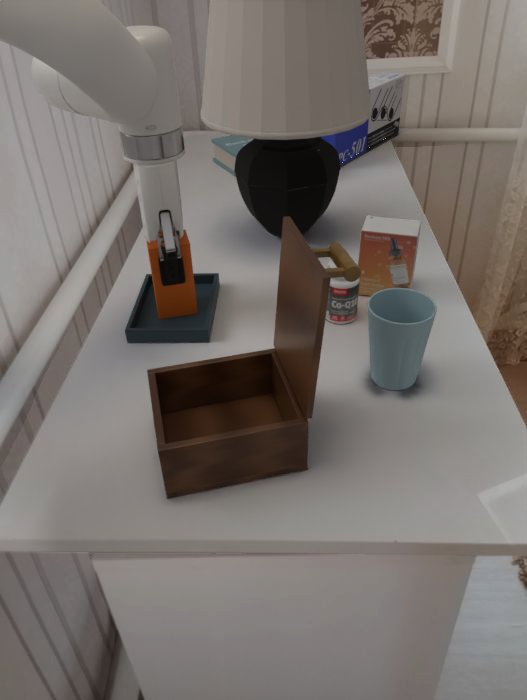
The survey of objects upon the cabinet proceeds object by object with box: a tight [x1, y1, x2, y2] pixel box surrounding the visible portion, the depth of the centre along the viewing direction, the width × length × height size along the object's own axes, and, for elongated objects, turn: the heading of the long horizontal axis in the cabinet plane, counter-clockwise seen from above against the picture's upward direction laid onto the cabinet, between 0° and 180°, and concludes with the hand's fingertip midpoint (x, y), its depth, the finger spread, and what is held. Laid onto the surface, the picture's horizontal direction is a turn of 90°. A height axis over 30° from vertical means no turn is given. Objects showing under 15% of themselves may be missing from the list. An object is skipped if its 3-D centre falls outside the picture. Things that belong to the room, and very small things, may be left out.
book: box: [211, 135, 253, 178], centre depth 131 cm, size 23×16×5 cm
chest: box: [146, 347, 310, 499], centre depth 64 cm, size 15×13×7 cm
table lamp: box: [200, 0, 372, 238], centre depth 95 cm, size 27×27×40 cm
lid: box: [273, 216, 361, 419], centre depth 59 cm, size 15×13×5 cm
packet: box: [145, 229, 198, 319], centre depth 83 cm, size 6×4×11 cm
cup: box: [366, 288, 438, 391], centre depth 71 cm, size 8×8×10 cm
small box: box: [357, 214, 422, 297], centre depth 87 cm, size 8×6×10 cm
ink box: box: [321, 71, 406, 167], centre depth 137 cm, size 30×7×14 cm, turn 142°
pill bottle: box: [325, 257, 359, 325], centre depth 82 cm, size 5×5×8 cm
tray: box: [124, 272, 221, 344], centre depth 86 cm, size 15×11×2 cm
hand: (171, 273), depth 83 cm, fingers closed on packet, 4 cm apart
